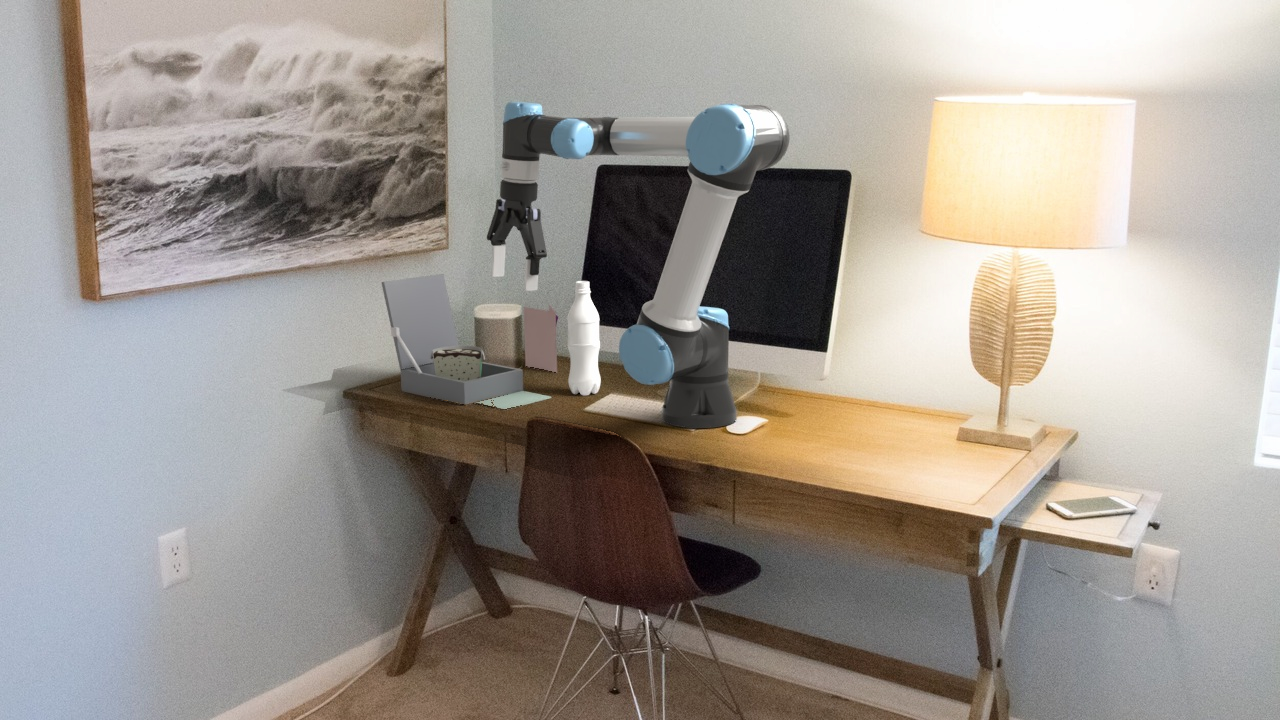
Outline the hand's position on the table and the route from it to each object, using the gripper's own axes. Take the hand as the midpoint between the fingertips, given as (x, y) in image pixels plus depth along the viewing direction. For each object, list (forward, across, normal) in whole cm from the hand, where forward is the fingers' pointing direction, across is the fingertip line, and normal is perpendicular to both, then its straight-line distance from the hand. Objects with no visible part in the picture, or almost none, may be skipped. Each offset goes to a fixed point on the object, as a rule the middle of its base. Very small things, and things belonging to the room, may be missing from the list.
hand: (513, 283), depth 234 cm
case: (+29, -21, -2) cm, 36 cm away
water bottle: (+26, 0, +20) cm, 33 cm away
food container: (+29, -18, -1) cm, 34 cm away
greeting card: (+29, -28, +26) cm, 48 cm away
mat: (+27, -3, +4) cm, 27 cm away
